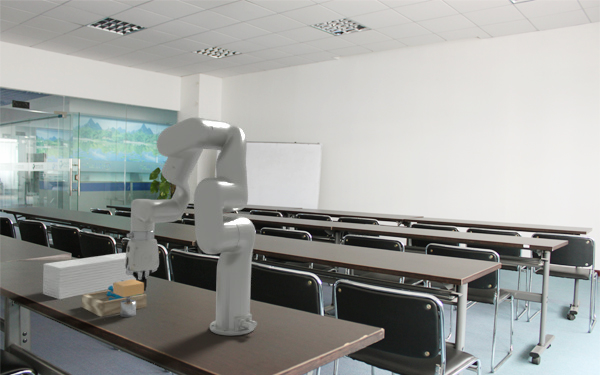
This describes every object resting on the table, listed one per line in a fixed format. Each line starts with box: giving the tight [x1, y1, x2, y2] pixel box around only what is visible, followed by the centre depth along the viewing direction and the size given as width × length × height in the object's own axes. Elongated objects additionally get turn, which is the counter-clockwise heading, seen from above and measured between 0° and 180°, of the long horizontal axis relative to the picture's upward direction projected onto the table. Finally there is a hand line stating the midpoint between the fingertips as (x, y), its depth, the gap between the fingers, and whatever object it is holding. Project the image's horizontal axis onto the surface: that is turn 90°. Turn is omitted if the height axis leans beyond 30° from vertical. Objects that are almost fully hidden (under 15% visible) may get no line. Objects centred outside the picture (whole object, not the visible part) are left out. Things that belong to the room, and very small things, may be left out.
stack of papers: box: [42, 252, 136, 300], centre depth 168 cm, size 32×11×11 cm, turn 146°
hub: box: [113, 279, 145, 297], centre depth 136 cm, size 6×6×3 cm
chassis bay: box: [81, 289, 148, 318], centre depth 144 cm, size 13×15×4 cm
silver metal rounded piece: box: [119, 296, 137, 318], centre depth 137 cm, size 4×4×6 cm
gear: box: [107, 280, 142, 301], centre depth 147 cm, size 11×6×10 cm
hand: (141, 290), depth 151 cm, fingers closed
